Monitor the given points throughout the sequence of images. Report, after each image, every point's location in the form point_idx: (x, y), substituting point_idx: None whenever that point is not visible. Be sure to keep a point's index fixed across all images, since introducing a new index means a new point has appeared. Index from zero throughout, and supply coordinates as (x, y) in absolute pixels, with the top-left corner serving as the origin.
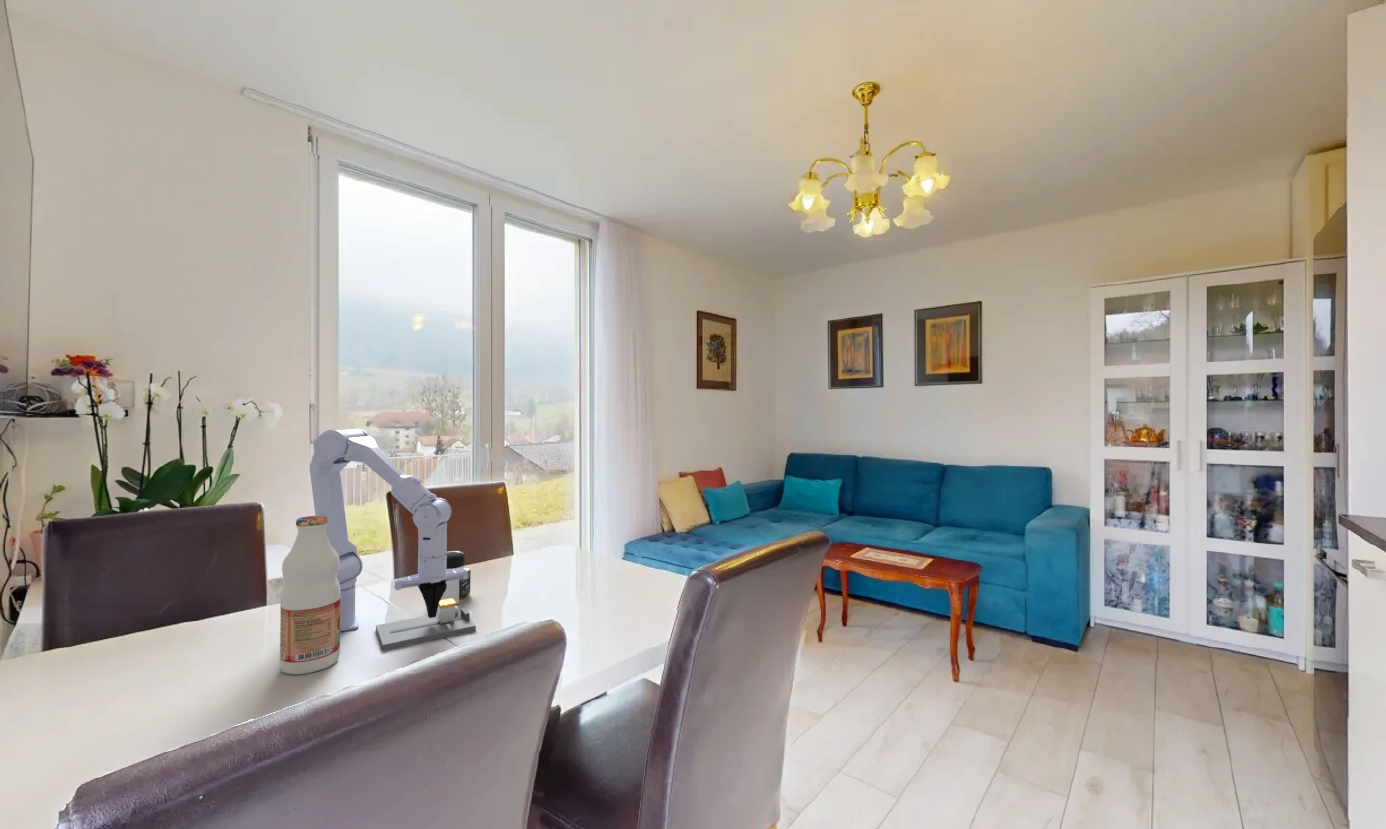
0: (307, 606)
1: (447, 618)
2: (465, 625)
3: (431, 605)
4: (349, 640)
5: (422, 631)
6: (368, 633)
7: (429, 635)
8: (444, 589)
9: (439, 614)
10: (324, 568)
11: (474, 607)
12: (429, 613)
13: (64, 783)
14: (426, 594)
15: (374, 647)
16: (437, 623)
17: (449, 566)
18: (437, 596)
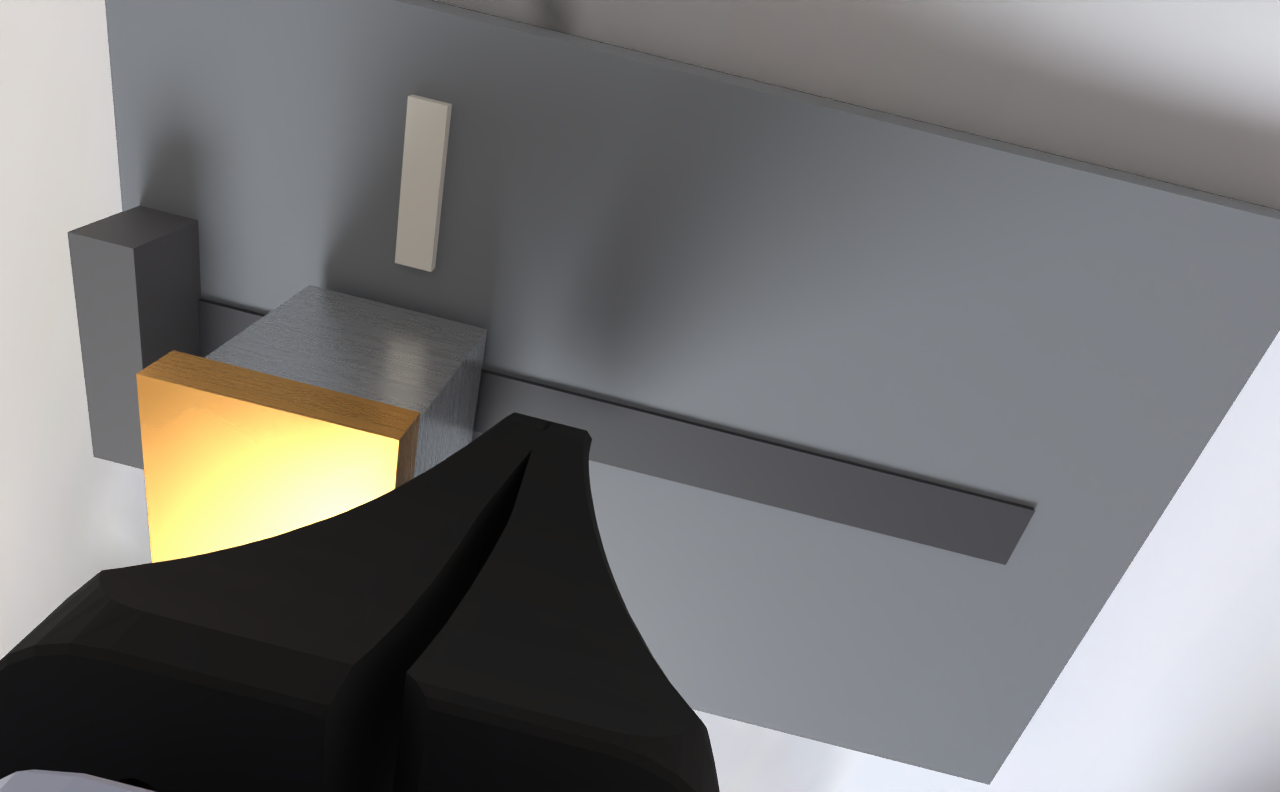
0: None
1: (379, 325)
2: (225, 51)
3: (534, 509)
4: (1267, 712)
5: (745, 288)
6: (1053, 731)
7: (740, 86)
8: (129, 579)
9: (445, 433)
10: None
11: (51, 596)
12: (585, 459)
13: None
14: (610, 669)
15: (1263, 387)
16: (504, 384)
17: None
18: (377, 562)
